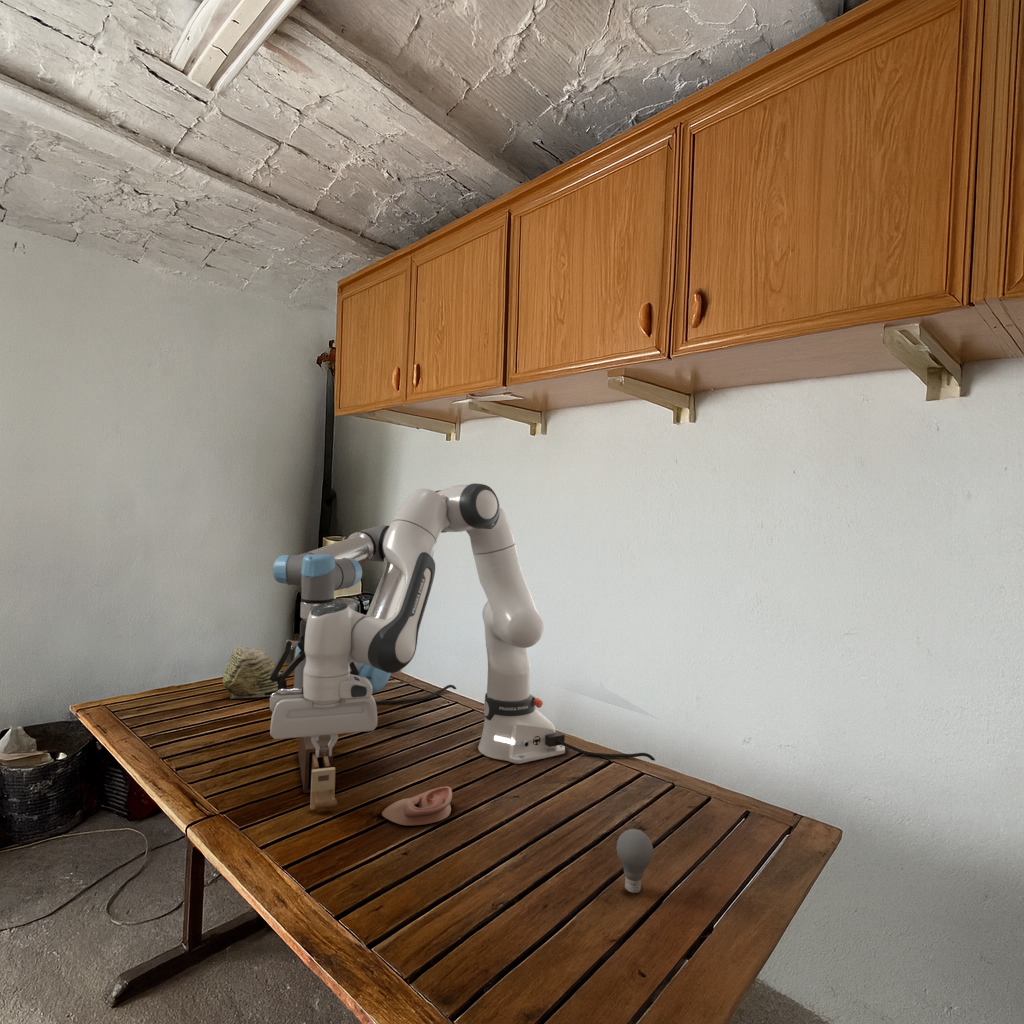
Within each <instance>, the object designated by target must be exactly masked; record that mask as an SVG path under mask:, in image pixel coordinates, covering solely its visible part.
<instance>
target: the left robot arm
mask: <svg viewBox="0 0 1024 1024" xmlns="http://www.w3.org/2000/svg"><path fill="white" fill-rule="evenodd" d="M389 527H390V525H377V526H373V527H369V528H365V529H362V530H358V531H356V532H353V533H351V534H350V535H348V537H347V538H344V539H343V540H339V541H336V542H333V543H331V544H328V545H325V546H322V547H319V548H316V549H313V550H310V551H307V552H304V553H300V554H295V555H292V554H282V555H279V556H278V557H277V558H276V559H275V561H274V563H273V566H272V575H273V579H274V581H276V582H277V583H278V584H285V585H288V586H301V593H300V594H301V598H300V613H299V614H300V615H299V616H300V619H301V620H300V621H299V638H298V640H291V639H290V638H287V639H286V640H285V645H284V649H283V651H282V652H281V655H280V656H279V657H278V660H277V662H276V663H275V667H274V669H273V671H272V672H271V674H270V680H271V681H276V682H277V683H278V690H279V689H288V688H287V687H288V686H287V685H288V682H287V678H288V677H289V676H290V675H291V674H292V673H293V688H302V687H303V671H304V667H305V664H306V655H305V651H304V645H305V631H306V624H307V619H308V616H309V614H310V611H311V610H312V609H313V608H314V607H316V606H318V605H320V604H323V603H330V602H334V595H335V591H339V590H344V589H349V588H350V589H351V588H352V587H353V586H356V585H357V584H359V583H360V581H361V579H362V577H363V568H362V566H361V564H363V563H367V562H380V563H384V565H385V568H384V571H383V574H382V576H381V578H380V581H379V583H378V585H377V588H376V590H375V593H374V595H373V598H372V600H371V602H370V604H369V607H368V610H367V612H366V614H365V615H368V616H373V617H375V618H380V619H386V620H387V619H389V618H391V617H392V616H393V615H394V614H395V611H396V608H397V605H398V602H399V599H400V596H401V593H402V590H403V587H404V583H405V577H404V574H403V573H402V572H400V571H399V570H398V569H397V568H395V567H394V566H393V565H392V564H391V563H390V562H389V561H388V559H387V558H386V556H385V553H384V549H383V542H384V538H385V535H386V533H387V531H388V529H389ZM434 551H435V550H433V554H432V558H433V559H434V553H435V552H434ZM293 650H295V652H294V653H295V654H294V658H293V659H292V660H291V662H290V663H289V664H288V665H287V667H286V668H284V670H283V671H282V672H281V670H282V668H283V666H284V664H285V663H286V661H287V659H288V657H289V655H290V653H291V651H293ZM349 666H350V674H352V675H356V676H360V677H364V678H367V679H368V680H369V681H370V683H371V685H372V695H373V694H377V693H379V692H380V691H382V690H383V689H384V688H385V686H386V685H387V684H388V682H389V681H390V678H391V675H392V673H387V672H385V671H382V670H380V669H377V668H375V667H373V666H370V665H366V664H362V663H358V662H356V661H354V662H351V663H350V665H349ZM293 671H294V672H293ZM279 672H281V674H280V675H278V673H279ZM450 688H452V689H453V690H457V689H458V688H457V687H456V686H455V685H453V684H448V685H446V686H444V687H443V688H441V689H439V690H437V691H434V692H432V693H430V694H428V695H426V696H425V695H424V696H421V697H415V698H414V697H413V698H404V699H389V700H387V699H385V700H384V699H383V700H375V703H376V705H380V704H381V705H382V704H400V703H401V704H402V703H403V704H404V703H412V702H420V701H425V700H428V699H431V698H432V697H433V698H434V696H437V695H439V694H441V693H443V692H444V691H446V690H447V689H450ZM302 694H303V693H302Z"/></svg>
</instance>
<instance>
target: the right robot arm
mask: <svg viewBox="0 0 1024 1024" xmlns="http://www.w3.org/2000/svg"><path fill="white" fill-rule="evenodd" d="M389 526H390V527H389V529H388V531H387V533H386V535H385V538H384V542H383V549H384V553H385V556H386V558H387V559H388V561H389V562H390V563H391V564H392V565H393V566H394V567H395V568H397V569H398V570H399V571H400V572H402V573H403V574H404V577H405V583H404V587H403V590H402V593H401V596H400V599H399V602H398V605H397V608H396V611H395V614H394V615H393V616H392V617H391V618H389V619H387V620H386V619H380V618H375V617H373V616H368V615H366V614H364V613H361V612H358V611H356V610H354V609H352V608H351V607H350V605H348V603H346V602H342V601H333V602H330V603H323V604H320V605H318V606H316V607H314V608H313V609H312V610H311V611H310V614H309V616H308V619H307V624H306V631H305V645H304V651H305V655H306V664H305V667H304V671H303V687H302V688H294V687H292V688H287V689H279V690H278V691H277V692H274V693H273V694H272V695H271V696H269V699H268V700H269V701H268V707H269V710H270V712H271V719H270V725H269V735H270V737H271V738H273V740H284V739H285V740H286V739H297V738H299V737H309V736H311V742H312V744H313V745H314V747H315V749H316V758H318V757H328V756H332V748H333V749H334V747H335V745H336V744H337V742H338V740H339V735H340V734H341V735H342V734H343V735H344V734H353V733H363V732H373V731H374V730H375V729H376V728H377V726H378V710H377V709H378V708H377V704H376V703H375V701H376V700H375V698H374V696H373V694H372V685H371V683H370V681H369V680H368V679H367V678H364V677H360V676H356V675H352V674H350V666H349V665H350V663H351V662H354V661H356V662H358V663H362V664H366V665H370V666H373V667H375V668H377V669H380V670H382V671H385V672H387V673H391V674H394V673H397V672H400V671H401V670H402V669H404V668H405V667H407V666H408V665H409V664H410V663H411V662H412V660H413V658H414V657H415V655H416V651H417V646H418V639H419V631H420V628H421V624H422V620H423V617H424V614H425V611H426V608H427V604H428V601H429V597H430V594H431V591H432V588H433V583H434V579H435V574H436V562H435V560H434V557H433V558H432V554H433V555H434V552H433V550H434V549H435V547H436V544H437V542H438V541H439V538H440V535H441V533H461V532H462V533H463V532H466V534H468V536H469V539H470V545H471V550H472V555H473V559H474V564H475V567H476V572H477V575H478V580H479V583H480V585H481V588H482V590H483V592H484V594H485V597H486V599H487V601H486V602H485V604H484V606H483V608H482V611H481V612H482V620H483V624H484V625H483V626H484V638H485V639H484V640H485V648H486V656H487V657H486V658H487V682H486V693H485V694H484V702H483V714H484V715H483V716H484V720H483V728H482V733H481V736H480V740H479V743H478V745H477V749H478V752H479V753H481V754H482V755H483V756H486V757H487V758H491V759H494V760H499V761H506V762H509V763H512V764H516V765H517V764H518V765H519V764H524V763H529V762H533V761H538V760H542V759H547V758H552V757H557V756H560V755H563V754H565V753H566V748H568V749H570V750H572V751H575V752H577V753H579V754H583V755H586V756H591V757H600V758H637V757H646V758H648V759H650V760H651V761H654V762H655V761H656V759H655V757H654V756H653V755H651V754H650V753H647V752H636V753H601V752H593V751H587V750H583V749H581V748H579V747H576V746H575V745H572V744H570V743H567V742H565V738H566V734H564V733H562V732H561V731H556V728H555V725H554V723H553V722H552V721H551V720H549V718H547V716H545V715H544V714H543V713H541V712H540V711H539V710H538V709H540V708H542V706H543V704H544V703H543V700H542V699H540V698H539V697H535V696H534V695H532V694H531V692H530V691H531V671H532V670H531V669H532V668H531V667H532V666H531V661H530V658H529V653H528V648H531V647H533V646H535V645H537V643H538V642H539V641H540V640H541V638H542V636H543V634H544V628H545V627H544V621H543V619H542V617H541V615H540V613H539V611H538V608H537V606H536V604H535V600H534V599H533V596H532V593H531V591H530V588H529V586H528V584H527V581H526V578H525V576H524V573H523V569H522V566H521V561H520V557H519V553H518V549H517V545H516V541H515V538H514V534H513V530H512V528H511V525H510V521H509V520H508V518H507V515H506V513H505V512H504V510H503V509H502V508H501V507H500V501H499V498H498V496H497V494H496V492H495V491H494V489H492V487H490V486H489V485H486V484H485V483H475V482H474V483H470V484H459V485H452V486H451V487H447V488H445V489H439V490H433V489H429V488H418V489H416V490H414V491H413V492H412V493H410V495H408V497H407V498H406V500H405V501H404V502H403V504H402V505H401V507H400V508H399V509H398V511H397V513H396V514H395V515H394V518H393V520H391V523H390V525H389ZM434 551H435V550H434ZM277 693H278V694H277ZM302 693H303V694H302ZM275 694H276V695H275ZM537 708H538V709H537ZM320 735H330V738H331V740H330V742H329V743H328V745H321V746H319V744H318V742H317V741H318V740H319V736H320Z"/></svg>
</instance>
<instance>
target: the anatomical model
mask: <svg viewBox="0 0 1024 1024" xmlns="http://www.w3.org/2000/svg"><path fill="white" fill-rule="evenodd" d="M452 799H453V789H452V787H450V786H448V785H445V786H440V787H436V788H432V789H430V790H426V791H424V792H422V793H419V794H416V795H415V796H412V797H408V798H402V799H399V800H396V801H395V802H393V803H391V804H390V805H388V806H387V807H386V808H384V809H383V810H382V812H381V816H382V817H383V818H384V819H386V820H388V821H390V822H392V823H395V824H397V825H400V826H406V827H407V826H408V827H409V826H421V825H428V824H434V823H438V822H440V821H443V820H445V819H446V818H448V817H449V816H450V815H451V812H452V807H451V802H452Z"/></svg>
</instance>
